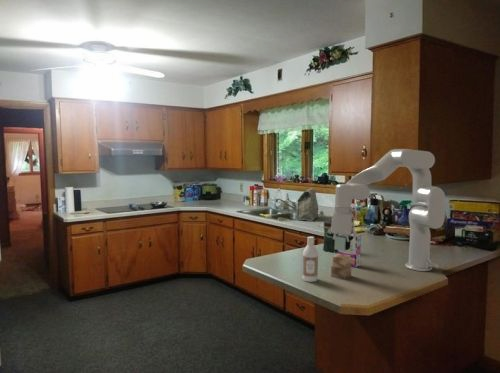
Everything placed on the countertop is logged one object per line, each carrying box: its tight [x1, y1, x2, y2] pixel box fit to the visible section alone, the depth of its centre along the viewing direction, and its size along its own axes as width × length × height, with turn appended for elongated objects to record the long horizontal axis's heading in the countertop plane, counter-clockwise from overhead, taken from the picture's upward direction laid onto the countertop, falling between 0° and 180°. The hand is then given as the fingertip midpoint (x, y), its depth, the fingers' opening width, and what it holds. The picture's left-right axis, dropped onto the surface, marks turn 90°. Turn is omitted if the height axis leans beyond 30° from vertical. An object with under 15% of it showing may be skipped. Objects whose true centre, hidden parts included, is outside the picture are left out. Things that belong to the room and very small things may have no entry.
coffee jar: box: [322, 219, 338, 253], centre depth 221 cm, size 10×8×19 cm
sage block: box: [334, 235, 347, 251], centre depth 174 cm, size 5×5×6 cm
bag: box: [296, 187, 319, 222], centre depth 328 cm, size 22×16×27 cm
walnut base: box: [330, 265, 352, 280], centre depth 175 cm, size 7×7×5 cm
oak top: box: [332, 253, 350, 269], centre depth 175 cm, size 6×6×5 cm
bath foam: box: [301, 236, 319, 283], centre depth 169 cm, size 7×7×20 cm
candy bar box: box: [337, 234, 362, 268], centre depth 193 cm, size 11×5×16 cm, turn 44°
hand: (341, 248), depth 174 cm, fingers closed on sage block, 5 cm apart
